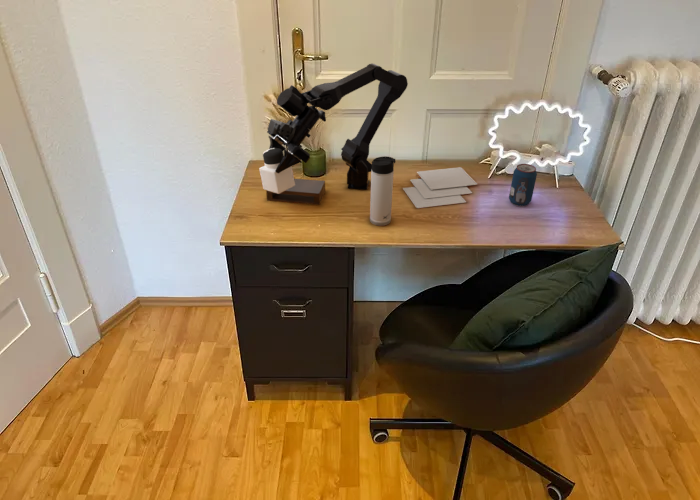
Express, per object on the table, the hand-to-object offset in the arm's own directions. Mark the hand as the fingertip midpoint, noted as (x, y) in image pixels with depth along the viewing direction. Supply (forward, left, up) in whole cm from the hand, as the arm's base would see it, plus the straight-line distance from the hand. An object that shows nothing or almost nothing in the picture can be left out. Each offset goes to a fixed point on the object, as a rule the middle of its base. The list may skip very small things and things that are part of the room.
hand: (271, 167), depth 160 cm
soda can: (-76, -16, -14) cm, 79 cm away
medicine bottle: (-2, -1, -7) cm, 8 cm away
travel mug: (-34, +3, -14) cm, 36 cm away
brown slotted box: (-5, -8, -13) cm, 17 cm away
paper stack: (-51, -22, -14) cm, 57 cm away
